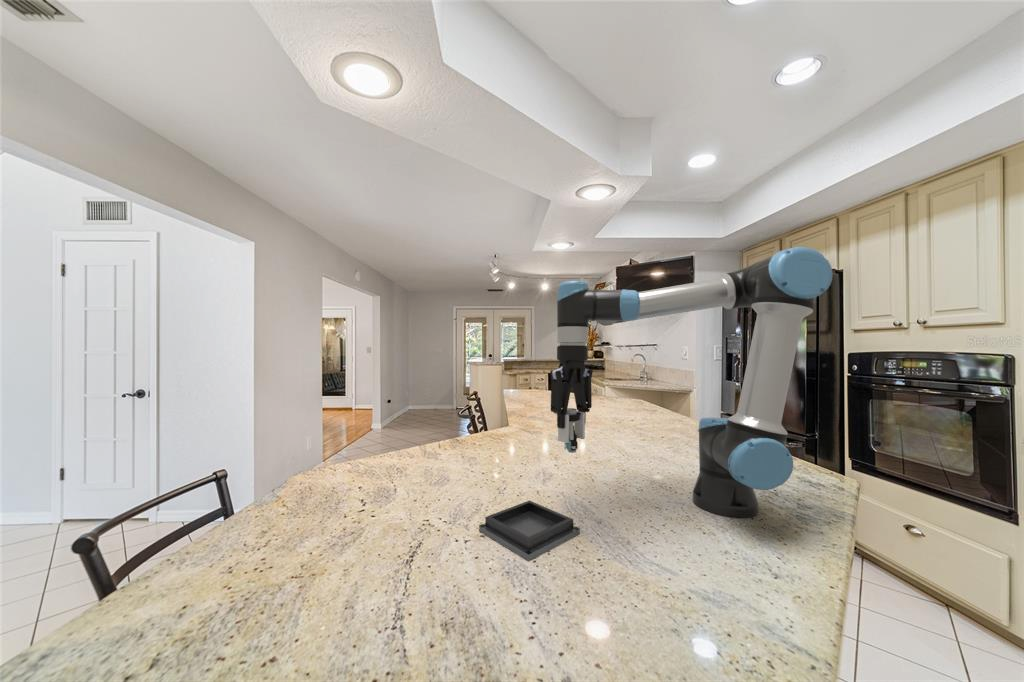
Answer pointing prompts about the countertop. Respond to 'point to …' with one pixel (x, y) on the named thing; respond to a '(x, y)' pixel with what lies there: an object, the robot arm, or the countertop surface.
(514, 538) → the grey metal square tray
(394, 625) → the countertop surface
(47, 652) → the countertop surface
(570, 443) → the push button
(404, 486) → the countertop surface
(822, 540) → the countertop surface
